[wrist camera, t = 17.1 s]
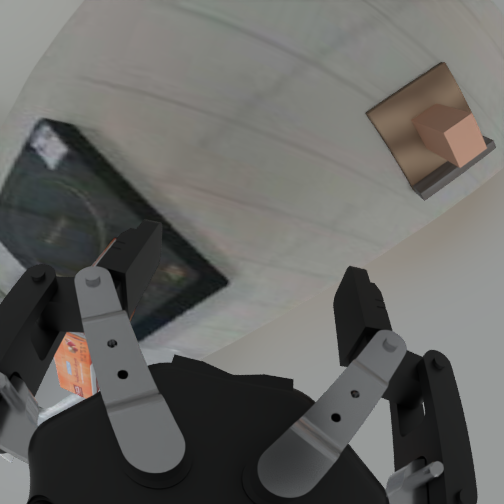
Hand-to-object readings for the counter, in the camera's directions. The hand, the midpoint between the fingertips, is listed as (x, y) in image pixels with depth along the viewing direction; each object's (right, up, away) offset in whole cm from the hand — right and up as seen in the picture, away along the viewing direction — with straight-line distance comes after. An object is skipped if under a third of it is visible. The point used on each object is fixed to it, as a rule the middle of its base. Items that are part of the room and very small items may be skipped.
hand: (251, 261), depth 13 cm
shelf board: (+24, +17, +22) cm, 37 cm away
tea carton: (+24, +17, +21) cm, 36 cm away
